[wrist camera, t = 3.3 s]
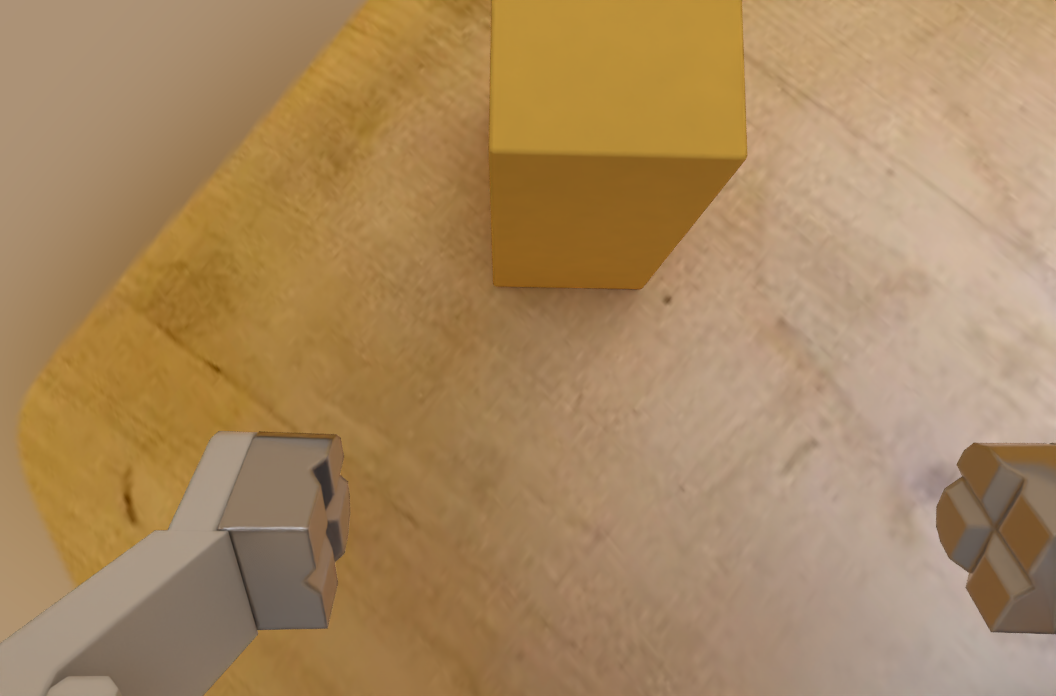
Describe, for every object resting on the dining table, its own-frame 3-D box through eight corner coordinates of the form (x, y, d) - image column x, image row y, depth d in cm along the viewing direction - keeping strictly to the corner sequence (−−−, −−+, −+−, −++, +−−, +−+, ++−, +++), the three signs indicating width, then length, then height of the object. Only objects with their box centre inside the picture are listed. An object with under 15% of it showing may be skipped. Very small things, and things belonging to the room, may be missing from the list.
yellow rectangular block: (492, 287, 23) (488, 151, 13) (496, 98, 24) (494, -160, 14) (642, 289, 23) (749, 158, 13) (640, 102, 24) (738, -151, 14)
